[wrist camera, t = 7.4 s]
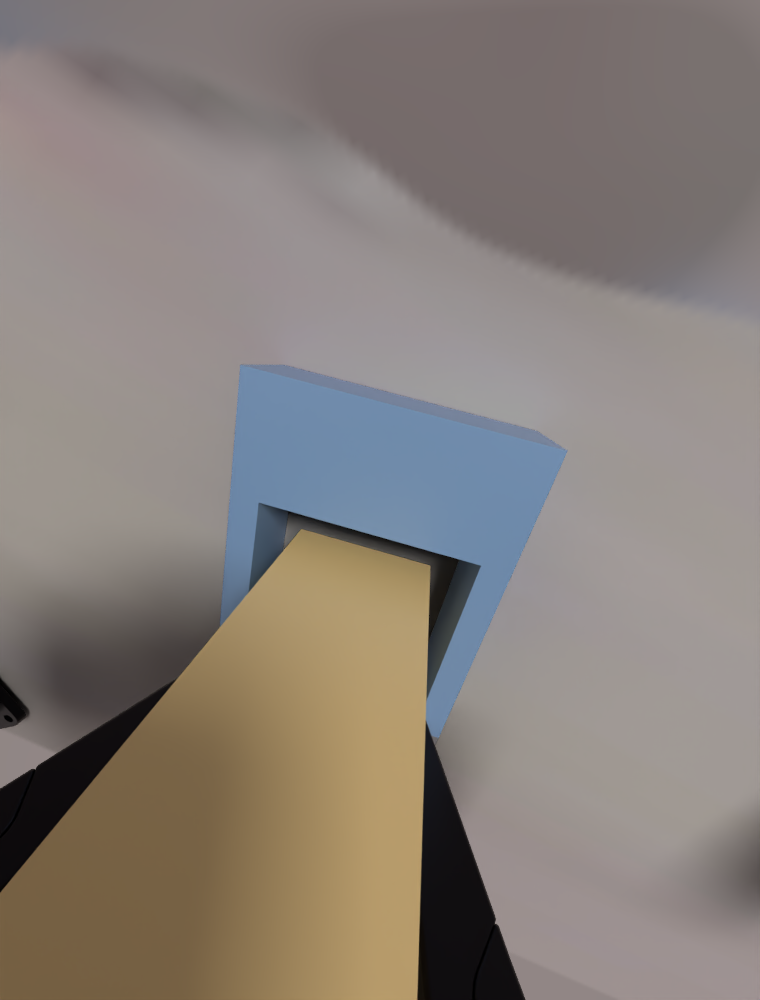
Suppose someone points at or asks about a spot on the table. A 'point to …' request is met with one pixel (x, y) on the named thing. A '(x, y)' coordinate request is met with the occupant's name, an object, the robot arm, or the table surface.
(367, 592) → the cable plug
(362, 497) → the duct block
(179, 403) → the table surface
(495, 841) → the table surface
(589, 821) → the table surface
